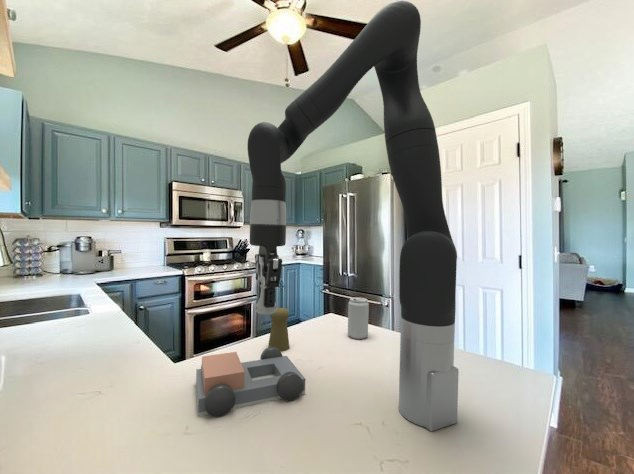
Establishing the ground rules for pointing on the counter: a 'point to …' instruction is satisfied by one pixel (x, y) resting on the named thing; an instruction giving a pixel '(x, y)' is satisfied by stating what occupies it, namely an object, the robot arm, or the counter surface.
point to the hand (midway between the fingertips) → (266, 303)
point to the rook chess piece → (259, 305)
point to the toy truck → (245, 381)
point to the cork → (279, 330)
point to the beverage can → (358, 318)
